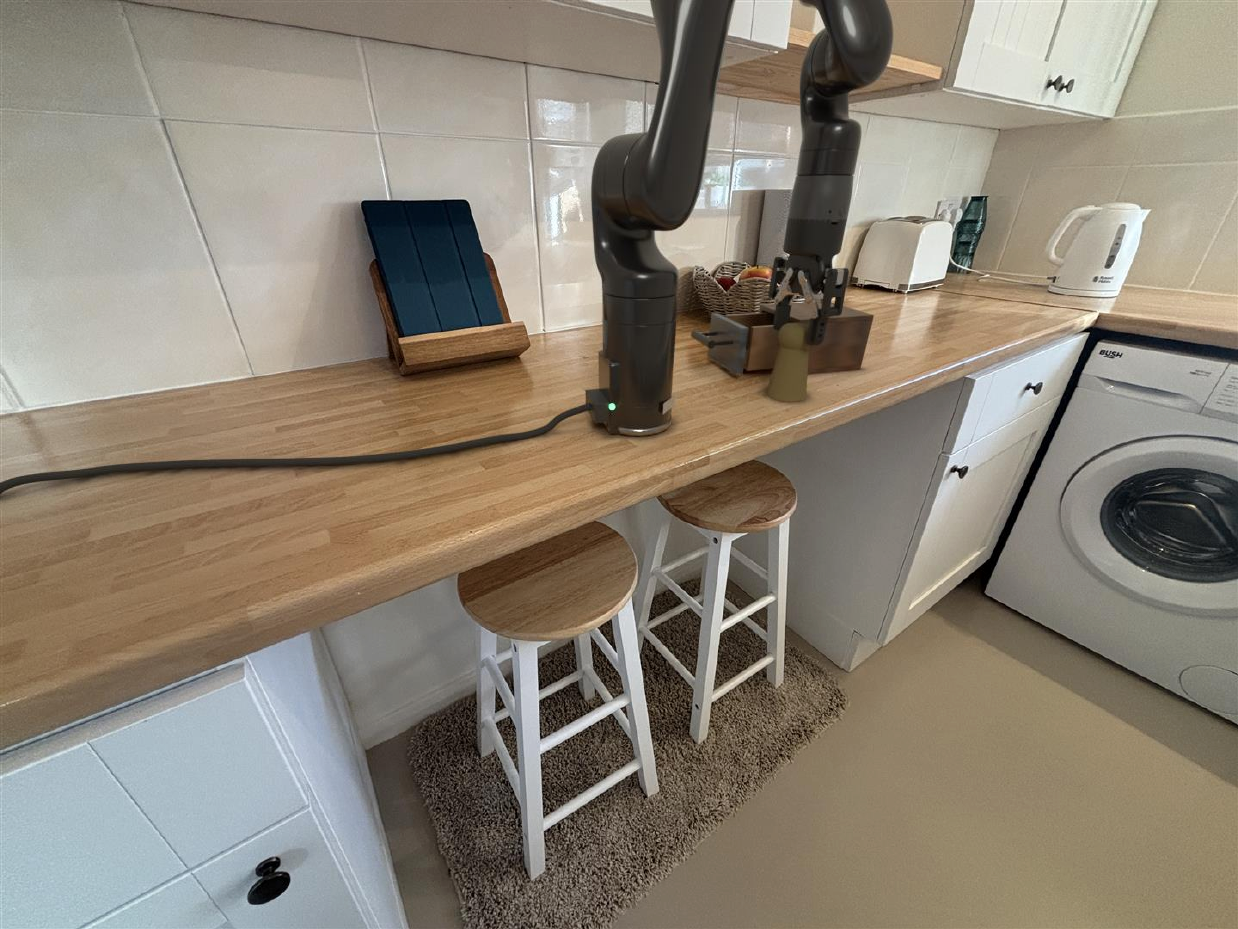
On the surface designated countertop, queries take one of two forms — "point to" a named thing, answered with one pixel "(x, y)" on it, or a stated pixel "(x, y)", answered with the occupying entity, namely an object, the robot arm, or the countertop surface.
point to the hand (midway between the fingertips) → (796, 336)
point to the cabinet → (834, 338)
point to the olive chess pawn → (790, 364)
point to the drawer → (741, 341)
